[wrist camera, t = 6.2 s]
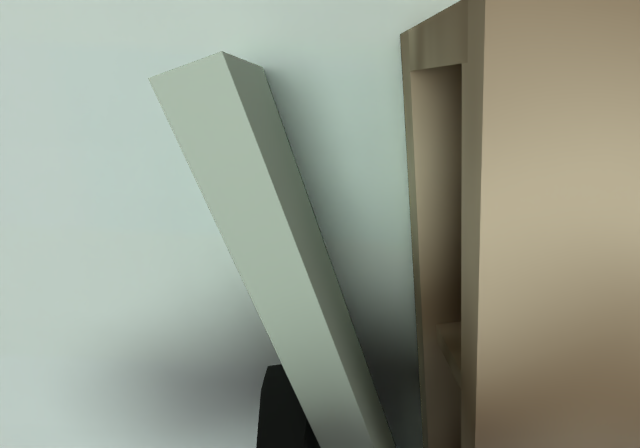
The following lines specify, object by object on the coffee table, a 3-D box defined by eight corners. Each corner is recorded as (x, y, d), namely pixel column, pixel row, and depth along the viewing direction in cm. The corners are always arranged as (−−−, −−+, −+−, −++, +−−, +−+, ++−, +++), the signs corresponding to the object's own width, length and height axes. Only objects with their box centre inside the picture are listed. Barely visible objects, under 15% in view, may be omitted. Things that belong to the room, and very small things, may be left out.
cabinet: (630, 460, 14) (757, 608, 10) (425, 485, 14) (470, 641, 10) (757, -24, 8) (1201, -131, 4) (400, 34, 8) (485, -13, 4)
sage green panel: (410, 489, 14) (448, 639, 10) (385, 495, 14) (413, 647, 10) (262, 66, 8) (221, 51, 4) (221, 81, 8) (147, 77, 4)
